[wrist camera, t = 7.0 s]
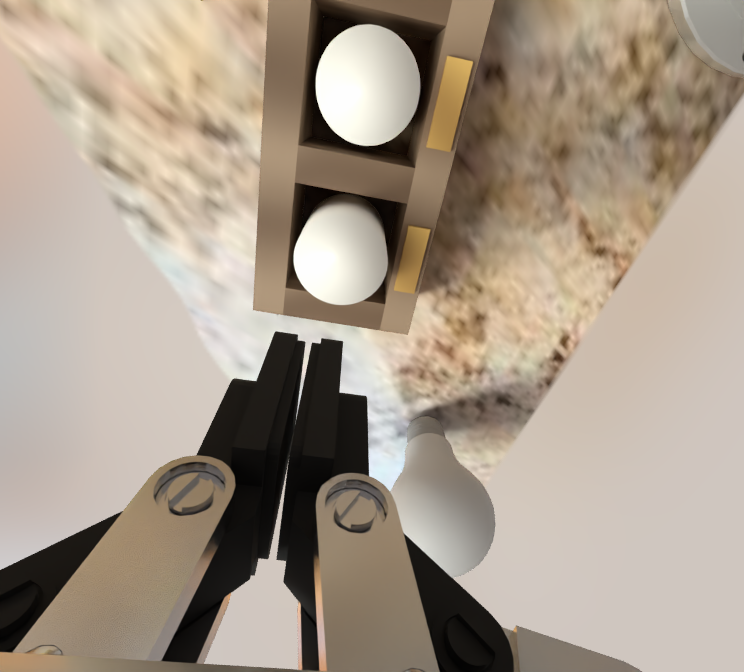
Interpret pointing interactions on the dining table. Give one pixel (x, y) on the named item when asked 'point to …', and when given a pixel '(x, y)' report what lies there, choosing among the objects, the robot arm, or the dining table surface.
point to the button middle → (367, 85)
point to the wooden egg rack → (359, 150)
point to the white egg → (342, 250)
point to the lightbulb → (442, 501)
